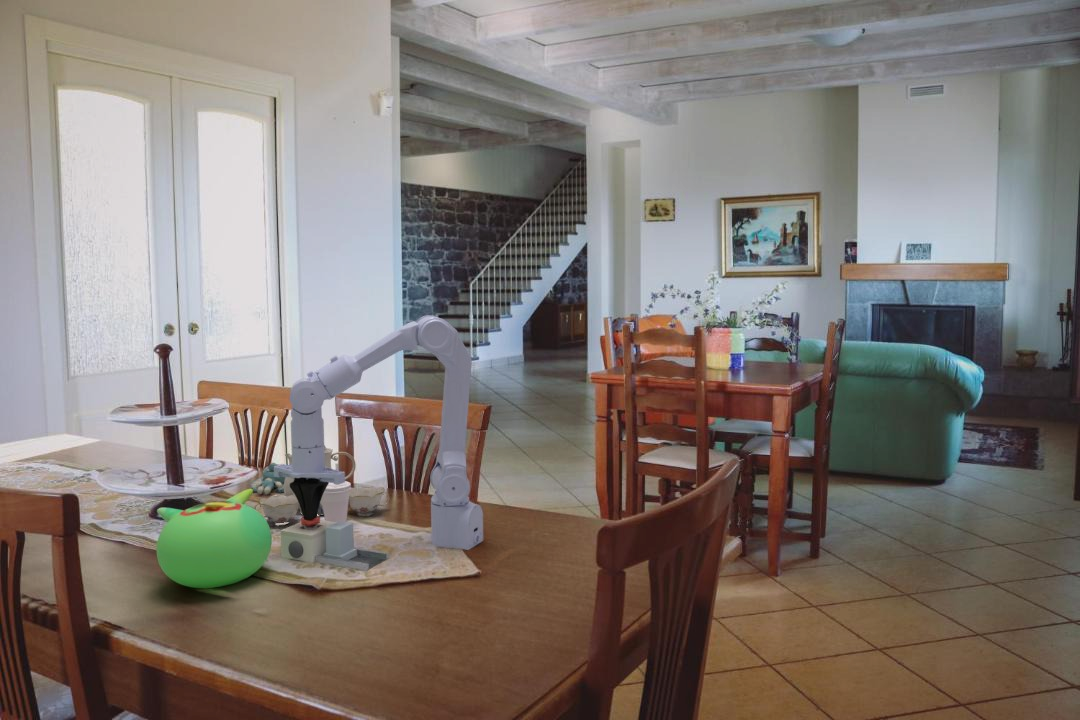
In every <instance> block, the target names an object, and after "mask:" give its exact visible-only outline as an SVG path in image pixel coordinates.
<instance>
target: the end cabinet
mask: <svg viewBox="0 0 1080 720" xmlns="http://www.w3.org/2000/svg"><path fill="white" fill-rule="evenodd" d="M335 523H337V522H330V521H325V520H321V519H320V523H319V524H317V528H316V529H314V530H307V529H305V527H304V525H302V524H301V521H300V522H297V523H296V524H293V525H290V526H289V527H286V528H284V529H281V530H280V551H281V552H280V553H281V554H280V555H281V559H288V560H295V561H300V562H306V563H310V564H314V563H316V562H315V558H314V557H315V556H317V555H319V556H323V554H324V553H326V527H328V526H330V525H332V524H335Z"/></svg>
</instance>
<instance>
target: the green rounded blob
mask: <svg viewBox="0 0 1080 720" xmlns="http://www.w3.org/2000/svg"><path fill="white" fill-rule="evenodd" d="M253 493H254V490H253V489H252V488H248V489H245V490H242V491H240V492H238V493H237V494H235V495H233V496H231V497H229V498H228V499H225V500H220V501H215V502H213V501H212V502H207V503H198V504H196V505H193V506H192V507H189V508H186V509H184V510H183V509H180V508H179V509H178V508H172V507H159V508H157V510H156V512H157V514H158V516H160V517H161V518H162V519H163V520H164V521H165V522H167V523H165V525H164V526H163V528H162V530H161V531H160V534H159V535H158V538H157V542H156V558H157V562H158V565H159V566H160V568H161V571H163V573H164V574H165V575H166V577H168V578H169V579H170V580H171V581H173V582H175V583H177V584H179V585H182V586H185V587H189V588H195V589H213V588H219V587H225V586H229V585H233V584H237V583H239V582H241V581H244V580H245V579H248V578H249V577H250V576H252V575H253V574H255V573H256V572H257V571H258V570H260V569H261V568H262V566H263V565H264V564H265V562H266V561H267V559H268V558H269V555H270V553H271V549H272V543H273V540H272V532H271V528H270V525H269V523H268V522H267V519H266V517H264V515H262V514H261V512H259V511H258V510H256V509H254V508H253V507H251V506H249V505H246V503H247V501H248V500H249V499H250V497H251V496H252V494H253Z"/></svg>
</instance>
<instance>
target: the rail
mask: <svg viewBox="0 0 1080 720" xmlns="http://www.w3.org/2000/svg"><path fill="white" fill-rule="evenodd" d="M354 549H357V556H355V557H353V558H351V559H349V560H343V559H337V558H331V557H325V556H319V555H317V556H315V557H314V558H315V562H314V563H319V564H324V565H330V566H336V567H343V568H348V569H353V570H360V571H365V572H368V571H369V569H372V568H373V567H376V566H377V565H378V564H380V563H381V564H382V561H387V560H388V559H390V552H388V551H386V552H385V551H380V550H375V549H369V548H363V547H362V548H361V547H355V546H354Z"/></svg>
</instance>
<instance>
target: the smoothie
mask: <svg viewBox="0 0 1080 720" xmlns="http://www.w3.org/2000/svg"><path fill="white" fill-rule="evenodd" d="M334 464H335V467H334V468H335V470H337V471H339V463H338V462H336V463H334ZM347 481H348V480H346V481H345V482H344V483H342V484H339V485H336V484H334V483H330V482H329V484H328V485H327V487H326V489H325V491H324V493H323V496H322V498H321V499H322V505H323V511H324V516H323V517H324V521H330V522H339V521H341V522H348V521H347V520H348V511H349V490H350V489H351V488H352V485H351V484H352V483H351V482H349V481H348V482H347Z"/></svg>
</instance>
